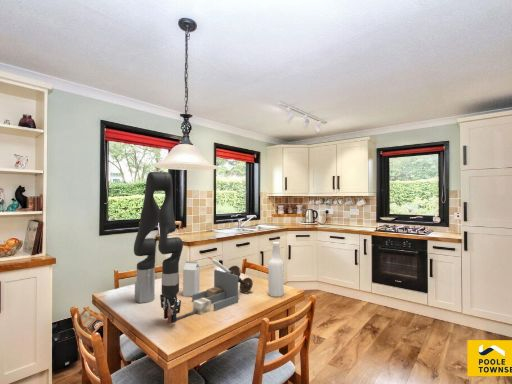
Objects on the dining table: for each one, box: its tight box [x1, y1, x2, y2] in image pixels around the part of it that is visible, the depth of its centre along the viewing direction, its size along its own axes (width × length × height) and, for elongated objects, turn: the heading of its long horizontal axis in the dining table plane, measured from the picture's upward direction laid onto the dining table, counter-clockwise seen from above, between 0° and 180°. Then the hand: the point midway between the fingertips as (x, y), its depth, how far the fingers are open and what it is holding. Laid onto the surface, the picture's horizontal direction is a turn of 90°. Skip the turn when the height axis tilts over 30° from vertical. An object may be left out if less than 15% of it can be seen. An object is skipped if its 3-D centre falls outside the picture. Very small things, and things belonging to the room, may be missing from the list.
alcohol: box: [267, 241, 285, 298], centre depth 161 cm, size 9×9×30 cm
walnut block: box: [206, 286, 222, 298], centre depth 155 cm, size 6×6×5 cm
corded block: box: [167, 298, 212, 324], centre depth 132 cm, size 21×6×6 cm, turn 138°
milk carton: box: [182, 260, 201, 297], centre depth 161 cm, size 7×7×19 cm
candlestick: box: [207, 256, 254, 294], centre depth 156 cm, size 11×11×35 cm
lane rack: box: [191, 269, 239, 312], centre depth 149 cm, size 16×19×14 cm
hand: (170, 320), depth 125 cm, fingers open, 5 cm apart
